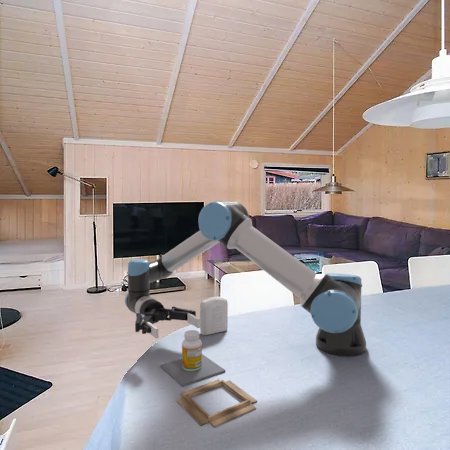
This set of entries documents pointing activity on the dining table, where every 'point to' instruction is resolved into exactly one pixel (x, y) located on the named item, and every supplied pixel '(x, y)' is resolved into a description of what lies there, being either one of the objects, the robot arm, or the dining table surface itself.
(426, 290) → the dining table surface
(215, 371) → the slate mat
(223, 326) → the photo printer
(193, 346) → the supplement bottle
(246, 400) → the square tan frame
